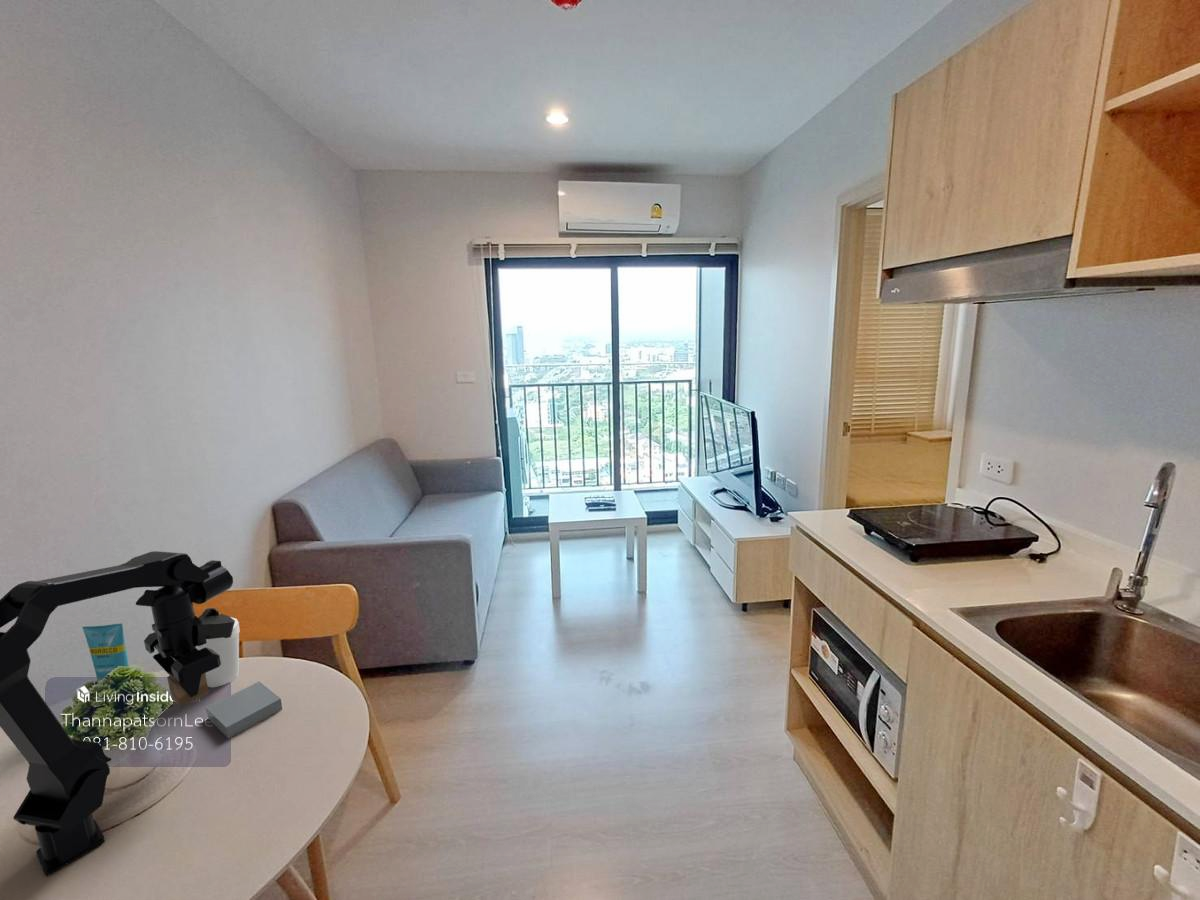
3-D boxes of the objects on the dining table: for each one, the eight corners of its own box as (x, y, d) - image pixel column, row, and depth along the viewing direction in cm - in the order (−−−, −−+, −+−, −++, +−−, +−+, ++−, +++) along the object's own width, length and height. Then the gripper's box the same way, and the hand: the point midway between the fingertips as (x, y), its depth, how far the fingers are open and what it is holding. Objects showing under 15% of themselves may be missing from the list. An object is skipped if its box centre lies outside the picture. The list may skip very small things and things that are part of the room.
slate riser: (282, 708, 108) (280, 698, 107) (228, 738, 100) (226, 727, 99) (260, 691, 113) (259, 681, 113) (207, 718, 105) (205, 707, 105)
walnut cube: (209, 693, 97) (205, 672, 96) (180, 707, 93) (175, 685, 93) (199, 684, 100) (195, 664, 99) (171, 697, 96) (167, 676, 95)
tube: (92, 715, 106) (72, 632, 102) (108, 699, 111) (89, 620, 107) (133, 709, 108) (115, 628, 104) (147, 694, 112) (131, 616, 108)
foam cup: (249, 678, 118) (241, 628, 115) (200, 697, 111) (190, 645, 108) (241, 660, 124) (233, 612, 121) (194, 678, 118) (184, 627, 115)
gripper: (246, 612, 94) (258, 685, 98) (206, 586, 105) (218, 653, 108) (172, 641, 85) (188, 720, 89) (136, 609, 96) (151, 681, 99)
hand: (189, 690), depth 96 cm, fingers closed on walnut cube, 4 cm apart
